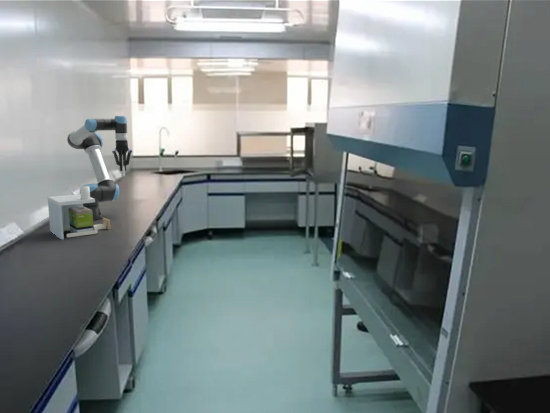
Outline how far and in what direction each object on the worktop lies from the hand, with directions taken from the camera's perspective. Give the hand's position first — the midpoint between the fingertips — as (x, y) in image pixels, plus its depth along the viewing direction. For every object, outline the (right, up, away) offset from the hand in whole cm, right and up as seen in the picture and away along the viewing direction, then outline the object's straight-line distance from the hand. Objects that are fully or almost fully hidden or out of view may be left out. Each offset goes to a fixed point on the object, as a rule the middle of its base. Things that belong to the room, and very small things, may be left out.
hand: (123, 175), depth 335 cm
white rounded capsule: (-11, -16, -38) cm, 42 cm away
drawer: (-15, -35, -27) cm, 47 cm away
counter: (-20, -36, -31) cm, 52 cm away
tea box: (-16, -36, -30) cm, 50 cm away
